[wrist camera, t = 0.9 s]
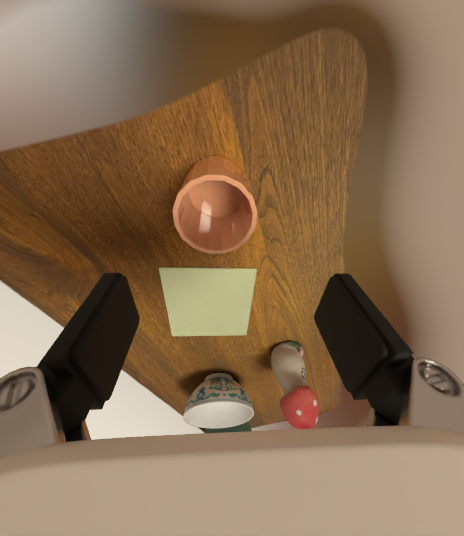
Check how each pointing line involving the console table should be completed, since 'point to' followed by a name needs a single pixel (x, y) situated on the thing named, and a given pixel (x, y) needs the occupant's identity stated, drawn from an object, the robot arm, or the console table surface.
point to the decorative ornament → (294, 386)
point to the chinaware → (218, 403)
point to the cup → (215, 207)
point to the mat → (208, 300)
